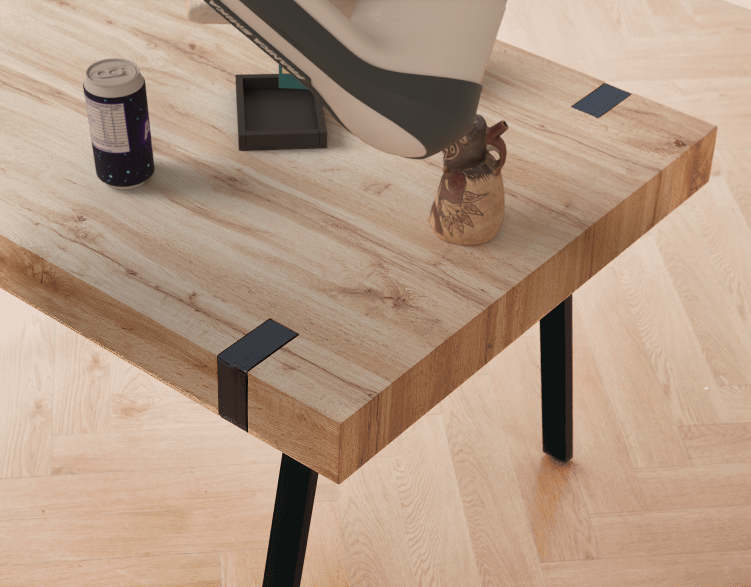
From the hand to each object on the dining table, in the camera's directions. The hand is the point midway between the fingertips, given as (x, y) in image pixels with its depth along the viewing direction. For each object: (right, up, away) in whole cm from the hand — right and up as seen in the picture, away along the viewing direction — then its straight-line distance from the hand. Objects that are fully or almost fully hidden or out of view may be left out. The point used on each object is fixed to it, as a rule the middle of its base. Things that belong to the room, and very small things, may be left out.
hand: (311, 23), depth 93 cm
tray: (-5, -4, +24) cm, 25 cm away
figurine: (+14, -17, +11) cm, 25 cm away
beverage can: (-19, -12, +15) cm, 27 cm away
